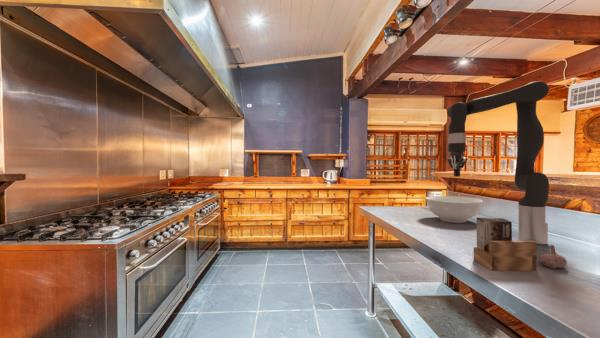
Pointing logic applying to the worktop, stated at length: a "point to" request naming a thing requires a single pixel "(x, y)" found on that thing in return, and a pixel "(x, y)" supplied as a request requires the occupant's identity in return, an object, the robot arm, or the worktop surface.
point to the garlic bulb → (553, 259)
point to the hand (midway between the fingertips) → (456, 176)
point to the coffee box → (492, 231)
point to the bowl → (454, 207)
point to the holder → (508, 256)
